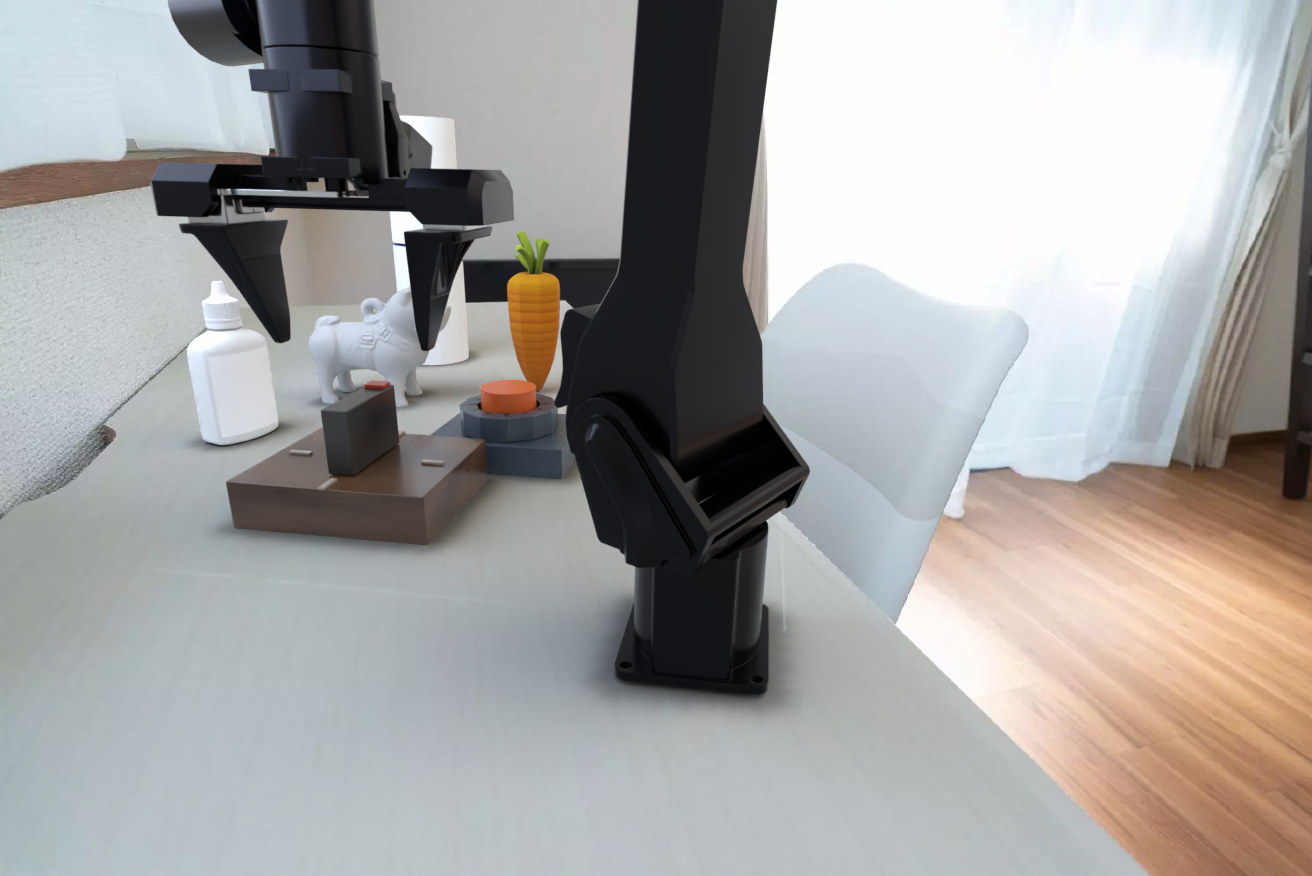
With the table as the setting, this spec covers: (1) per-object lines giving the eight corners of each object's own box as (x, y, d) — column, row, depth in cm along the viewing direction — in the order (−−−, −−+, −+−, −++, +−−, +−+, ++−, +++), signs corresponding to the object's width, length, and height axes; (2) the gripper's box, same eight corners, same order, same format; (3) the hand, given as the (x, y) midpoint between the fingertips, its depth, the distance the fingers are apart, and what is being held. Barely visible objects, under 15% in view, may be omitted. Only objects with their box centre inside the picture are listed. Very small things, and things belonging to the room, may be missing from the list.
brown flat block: (426, 546, 43) (421, 495, 42) (232, 529, 45) (223, 479, 43) (488, 479, 53) (486, 436, 52) (327, 466, 54) (321, 424, 53)
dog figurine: (446, 410, 67) (438, 289, 64) (306, 404, 68) (290, 284, 64) (464, 393, 72) (457, 281, 69) (333, 388, 73) (320, 275, 69)
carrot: (568, 396, 72) (566, 234, 67) (517, 401, 70) (510, 234, 65) (555, 383, 76) (552, 229, 71) (506, 387, 75) (499, 230, 70)
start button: (527, 419, 54) (526, 395, 53) (473, 415, 54) (472, 392, 54) (542, 403, 58) (542, 381, 57) (492, 400, 58) (491, 378, 57)
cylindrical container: (399, 353, 87) (377, 118, 79) (461, 348, 90) (447, 121, 82) (408, 367, 81) (385, 114, 73) (474, 362, 84) (460, 118, 76)
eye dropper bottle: (287, 436, 60) (264, 282, 56) (206, 449, 57) (176, 288, 53) (275, 421, 63) (253, 276, 59) (198, 433, 60) (169, 280, 56)
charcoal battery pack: (353, 476, 45) (345, 407, 43) (328, 474, 45) (319, 405, 43) (400, 442, 50) (394, 381, 49) (377, 441, 50) (370, 379, 49)
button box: (562, 479, 53) (560, 425, 51) (425, 469, 54) (421, 415, 53) (587, 441, 60) (587, 393, 59) (467, 433, 62) (464, 385, 60)
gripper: (537, 75, 46) (544, 328, 52) (255, 73, 49) (289, 315, 54) (469, 46, 36) (487, 366, 41) (115, 46, 38) (174, 349, 43)
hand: (354, 345), depth 45 cm, fingers open, 9 cm apart
